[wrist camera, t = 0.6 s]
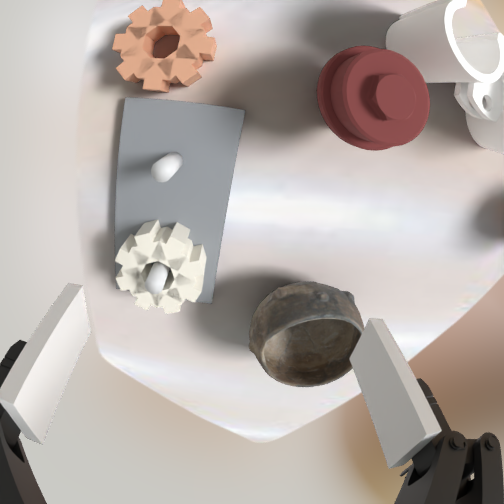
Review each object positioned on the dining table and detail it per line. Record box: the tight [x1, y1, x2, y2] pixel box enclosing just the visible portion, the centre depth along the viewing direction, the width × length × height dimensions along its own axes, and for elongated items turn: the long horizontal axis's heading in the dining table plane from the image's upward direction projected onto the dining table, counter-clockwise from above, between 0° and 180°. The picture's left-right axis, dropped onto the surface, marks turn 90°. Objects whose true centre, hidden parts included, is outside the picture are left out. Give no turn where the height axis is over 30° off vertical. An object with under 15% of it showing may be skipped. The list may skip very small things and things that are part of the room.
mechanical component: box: [317, 46, 430, 150], centre depth 24 cm, size 12×10×10 cm
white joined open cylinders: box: [386, 0, 504, 154], centre depth 23 cm, size 25×10×12 cm, turn 67°
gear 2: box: [115, 219, 207, 314], centre depth 34 cm, size 10×10×4 cm
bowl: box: [249, 282, 364, 387], centre depth 38 cm, size 14×15×10 cm
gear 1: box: [112, 0, 217, 92], centre depth 25 cm, size 10×10×4 cm
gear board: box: [115, 97, 245, 304], centre depth 31 cm, size 24×13×8 cm, turn 169°
